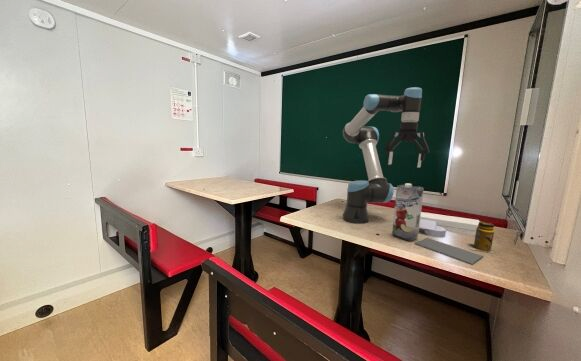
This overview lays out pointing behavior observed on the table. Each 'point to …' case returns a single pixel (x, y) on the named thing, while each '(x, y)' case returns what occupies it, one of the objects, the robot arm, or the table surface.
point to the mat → (450, 251)
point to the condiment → (483, 237)
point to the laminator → (453, 223)
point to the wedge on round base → (432, 228)
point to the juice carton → (407, 211)
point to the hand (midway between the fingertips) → (403, 165)
